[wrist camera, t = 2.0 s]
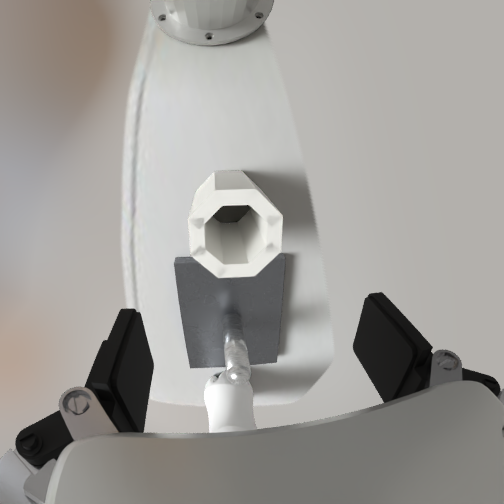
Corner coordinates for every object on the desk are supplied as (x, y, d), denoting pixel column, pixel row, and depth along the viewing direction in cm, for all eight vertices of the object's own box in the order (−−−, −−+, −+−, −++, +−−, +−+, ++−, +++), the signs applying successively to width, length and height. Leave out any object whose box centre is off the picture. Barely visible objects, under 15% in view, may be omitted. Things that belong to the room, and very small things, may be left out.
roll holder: (175, 257, 31) (160, 318, 20) (282, 253, 32) (313, 309, 22) (190, 360, 37) (188, 426, 27) (274, 355, 38) (292, 417, 28)
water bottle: (260, 377, 40) (295, 529, 17) (230, 399, 42) (250, 539, 19) (223, 358, 38) (244, 532, 15) (194, 383, 39) (199, 538, 16)
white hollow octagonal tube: (195, 171, 27) (185, 190, 18) (260, 170, 28) (284, 188, 19) (197, 233, 30) (192, 279, 21) (259, 231, 31) (279, 275, 22)
